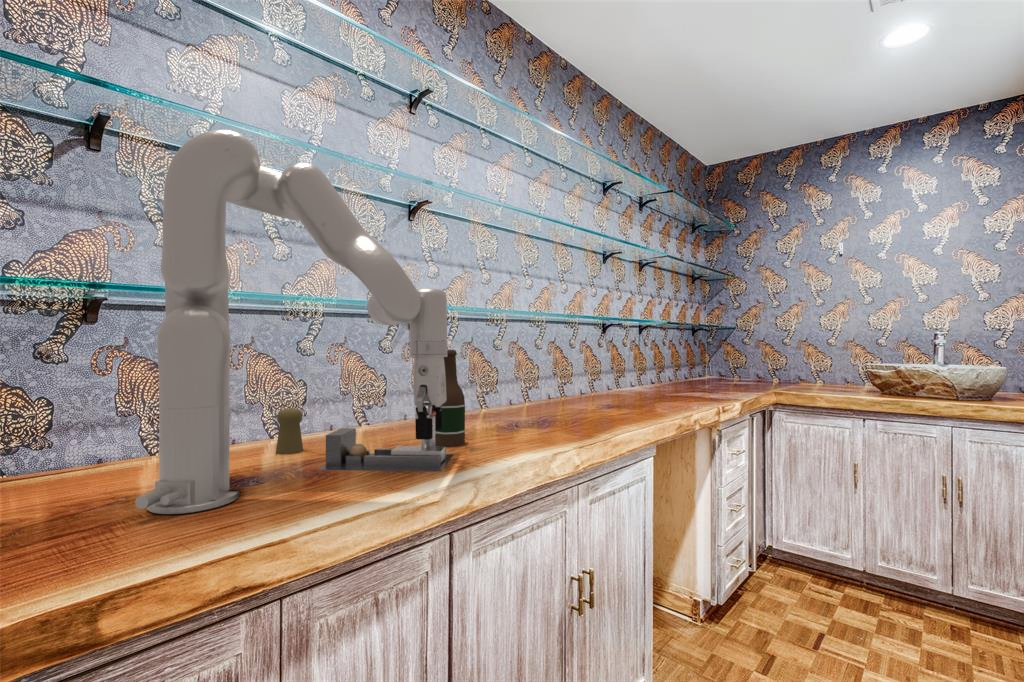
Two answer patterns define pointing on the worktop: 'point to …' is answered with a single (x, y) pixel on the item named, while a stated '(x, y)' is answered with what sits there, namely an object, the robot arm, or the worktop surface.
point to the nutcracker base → (373, 457)
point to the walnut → (358, 450)
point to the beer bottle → (452, 408)
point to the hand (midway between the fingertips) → (429, 434)
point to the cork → (289, 432)
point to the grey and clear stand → (422, 447)
